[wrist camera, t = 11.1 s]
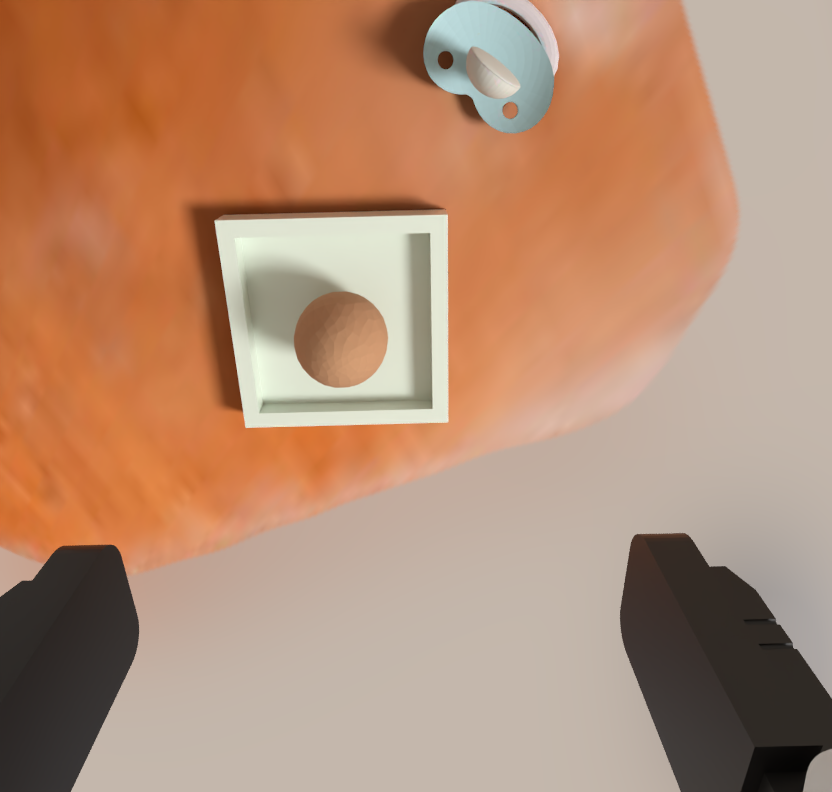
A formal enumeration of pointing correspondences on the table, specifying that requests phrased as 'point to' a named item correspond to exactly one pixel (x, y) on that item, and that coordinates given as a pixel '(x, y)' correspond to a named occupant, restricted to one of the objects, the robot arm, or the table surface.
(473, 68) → the pacifier
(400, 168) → the table surface
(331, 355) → the egg
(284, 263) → the dish
